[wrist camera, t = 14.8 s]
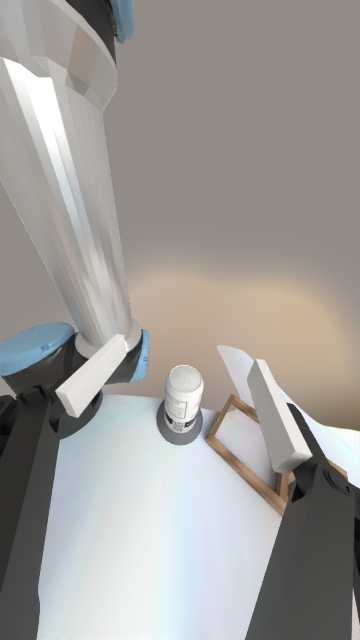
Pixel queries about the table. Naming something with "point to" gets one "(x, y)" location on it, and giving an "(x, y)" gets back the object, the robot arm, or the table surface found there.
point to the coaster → (178, 437)
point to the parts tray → (273, 498)
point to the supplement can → (182, 398)
